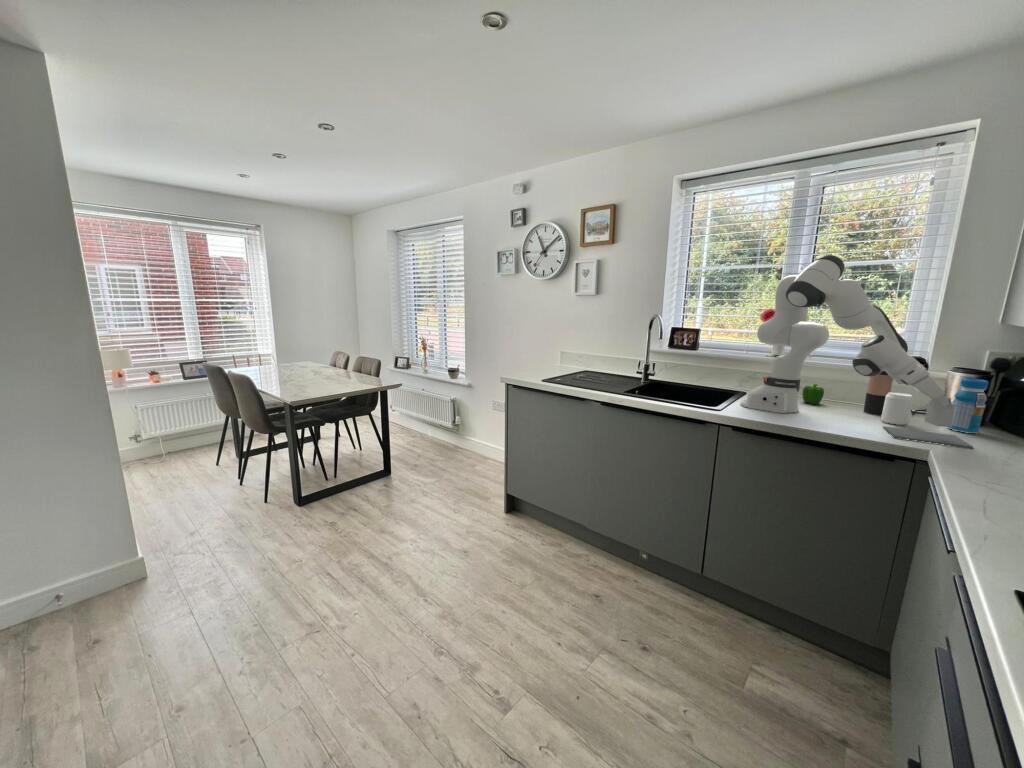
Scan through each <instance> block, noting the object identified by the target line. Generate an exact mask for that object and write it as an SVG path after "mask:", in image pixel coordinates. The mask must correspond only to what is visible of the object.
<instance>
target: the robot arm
mask: <svg viewBox="0 0 1024 768" xmlns="http://www.w3.org/2000/svg"><path fill="white" fill-rule="evenodd" d="M845 269H846V267H845V263H844V261H843V260H842V259H841V258H840V257H839V256H836V255H834V254H823V255H821V256H819V257H818V258H816V259H815V260H813V261H812V262H811V263H810V264H809V265H808V266H807V267H805V268H804V269H803V270H802V271H801V272H800V274H798V275H795V274H793V275H792V274H791V275H787V276H785V277H783V278H782V279H781V280H779V282H778V283H777V287H776V291H775V297H774V298H775V300H774V301H775V303H774V304H775V307H774V308H775V309H774V310H775V311H774V316H772V318H770V319H768V320H767V321H764V322H762V323H761V324H760V325H759V327H758V328H757V332H756V334H757V335H756V336H757V338H758V340H759V342H760V343H761V344H764V345H769V346H774V347H776V346H777V347H789V348H791V349H790V351H788V352H786V353H784V354H780V355H777V356H776V357H774V358H773V359H772V361H771V367H770V368H771V369H770V375H769V376H767V375H764V376H762V380H763V384H761V385H758V386H757V387H755V388H753V389H751V390H749V392H748V394H747V396H746V399H743V400H741V401H740V406H742V407H744V408H748V409H753V410H760V411H765V412H766V411H767V412H773V413H780V414H787V413H798V412H800V409H799V399H798V398H799V392H800V388H801V383H802V382H801V373H802V370H803V366H804V362H805V360H807V357H808V356H809V355H810V354H812V353H813V352H814V351H816V350H817V349H819V348H821V347H822V346H824V345H825V344H826V343H827V342H828V340H829V338H830V332H829V329H828V327H827V326H826V325H825V324H822V323H817V322H813V321H803V320H804V319H806V317H807V315H808V314H809V308H811V307H813V308H817V307H818V308H819V307H820V306H822V305H824V304H826V306H827V307H828V309H829V311H830V314H831V317H832V319H833V321H834V322H835V324H836V325H837V326H838V327H840V328H842V329H845V330H851V331H853V330H861V329H862V330H863V329H865V328H867V327H870V328H871V330H872V332H873V333H874V334H875V336H872V337H871V338H868V339H867V340H865V341H864V342H863V343H862V345H861V346H860V348H861V350H860V352H859V353H858V354H857V355H856V356H855V357H854V358H853V359H852V361H851V362H852V367H853V369H854V370H855V372H857V373H858V374H859V375H861V376H864V377H870V376H876V375H878V374H880V373H881V372H882V371H885V372H887V374H888V375H889V376H890V377H892V378H893V380H894V381H895V382H896V383H897V384H898V385H906V386H909V387H911V388H912V389H913V390H915V391H917V392H918V393H920V394H922V395H924V396H926V397H927V398H929V399H931V400H932V399H933V400H937V401H938V402H939V403H940V404H941V405H943V406H946V405H948V404H949V402H948V401H947V400H946V399H945V398H944V397H943V396H944V395H946V393H945V391H944V389H942V387H941V386H940V384H938V383H937V382H936V381H935V380H934V379H933V378H932V376H930V372H929V371H928V370H927V368H926V367H925V366H924V365H923V364H922V363H920V362H919V361H918V360H917V358H915V357H913V356H911V355H910V354H909V353H908V350H909V348H908V347H909V346H908V343H907V341H906V340H905V339H904V338H903V337H902V336H901V335H900V333H898V330H897V329H896V328H895V327H894V324H893V323H892V322H891V319H889V317H888V315H887V314H886V313H885V312H884V311H883V309H882V308H880V307H879V306H877V305H872V304H871V301H870V300H869V298H868V295H867V293H866V292H865V290H864V289H863V287H862V286H861V284H860V283H859V282H858V281H857V280H854V279H851V278H845V279H840V278H841V277H842V275H843V273H844V271H845Z"/></svg>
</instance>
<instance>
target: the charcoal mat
mask: <svg viewBox="0 0 1024 768" xmlns="http://www.w3.org/2000/svg"><path fill="white" fill-rule="evenodd" d="M883 428H884V429H885V430H886V431H887V432H886V431H885V430H884V429H883ZM882 429H883V430H884V431H885V432H886V433H888V434H889V435H890V434H891V435H892V436H893V437H894V438H893V437H892V436H891V435H890V436H891V437H892V438H893V439H896V438H901V439H900V440H903V439H909V440H908V441H910V440H917V441H916V442H918V441H924V442H923V443H925V442H931V443H930V444H932V443H938V444H937V445H939V444H944V445H943V446H947V445H950V446H949V447H954V446H955V448H956V447H957V448H961V447H962V448H963V449H968V448H969V449H968V450H974V446H973V445H972V444H971V443H968V442H967V441H965V440H964V439H962V438H960V437H959V436H957V435H956V434H955V435H953V434H946V433H941V432H939V433H938V432H933V431H924V430H923V431H922V430H916V429H908V428H902V427H901V428H900V427H894V426H893V427H891V426H882Z"/></svg>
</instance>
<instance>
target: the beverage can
mask: <svg viewBox="0 0 1024 768" xmlns="http://www.w3.org/2000/svg"><path fill="white" fill-rule="evenodd" d="M913 402H914V397H913V394H909V393H905V392H897V391H896V392H894V391H893V392H889V393H888V394H887V395H886V398H885V402H884V407H883V412H882V415H880V420H881V421H882V422H883V423H885V422H886V423H885V424H888V423H890V424H889V425H893V424H896V425H895V426H906V425H908V424H909V421H910V416H911V411H912V408H913V404H914V403H913Z"/></svg>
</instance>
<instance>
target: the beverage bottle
mask: <svg viewBox="0 0 1024 768" xmlns="http://www.w3.org/2000/svg"><path fill="white" fill-rule="evenodd" d="M988 386H989V380H984V379H980V378H965V377H964V378H962V379H961V381H960V388H961V389H959V390H958V391H957V392H956V393H955V395H954V397H955V399H954V400H953V401H952V405H953V407H954V410H955V411H954V416H953V422H952V427H946V428H947V429H948V428H949V429H948V430H950V429H952V430H956V431H961V432H968V433H977V434H978V433H979V432H980V426H981V423H982V420H983V415H984V412H985V410H986V408H987V404H986V402H987V401H988V397H987V394H986V393H985V391H987V389H988ZM952 430H951V431H952ZM956 431H955V432H956ZM961 432H960V433H961Z"/></svg>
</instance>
